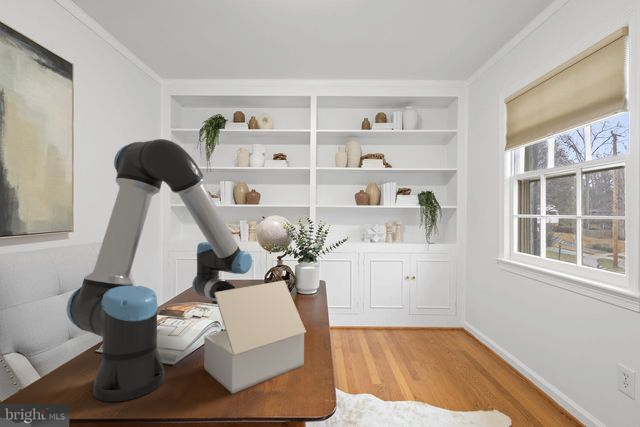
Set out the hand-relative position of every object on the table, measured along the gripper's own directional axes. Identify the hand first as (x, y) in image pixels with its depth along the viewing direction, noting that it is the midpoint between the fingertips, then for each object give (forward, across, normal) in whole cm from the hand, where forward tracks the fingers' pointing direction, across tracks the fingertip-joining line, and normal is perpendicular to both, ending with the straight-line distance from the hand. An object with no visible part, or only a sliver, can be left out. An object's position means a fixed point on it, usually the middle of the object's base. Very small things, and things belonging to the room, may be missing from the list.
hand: (258, 307), depth 95 cm
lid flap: (+5, +2, 0) cm, 6 cm away
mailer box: (+2, +2, -16) cm, 16 cm away
